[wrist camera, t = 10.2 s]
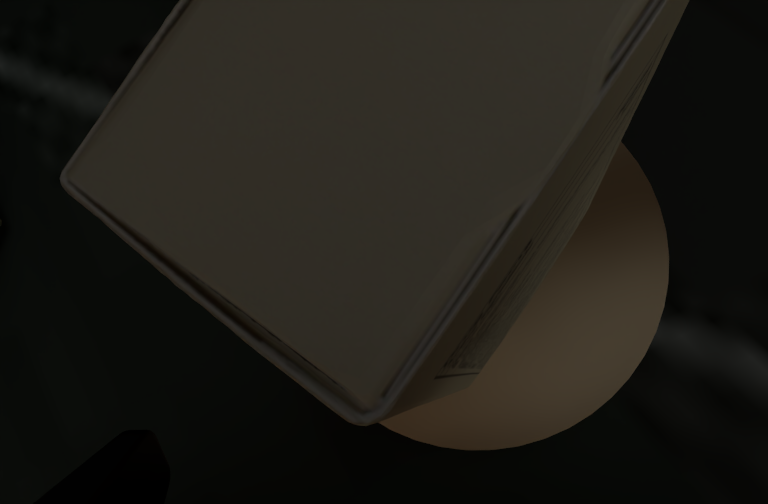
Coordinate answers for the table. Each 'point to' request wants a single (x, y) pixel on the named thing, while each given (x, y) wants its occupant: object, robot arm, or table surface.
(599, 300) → the tan round disc
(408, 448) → the table surface
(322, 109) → the skincare box
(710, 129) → the table surface
